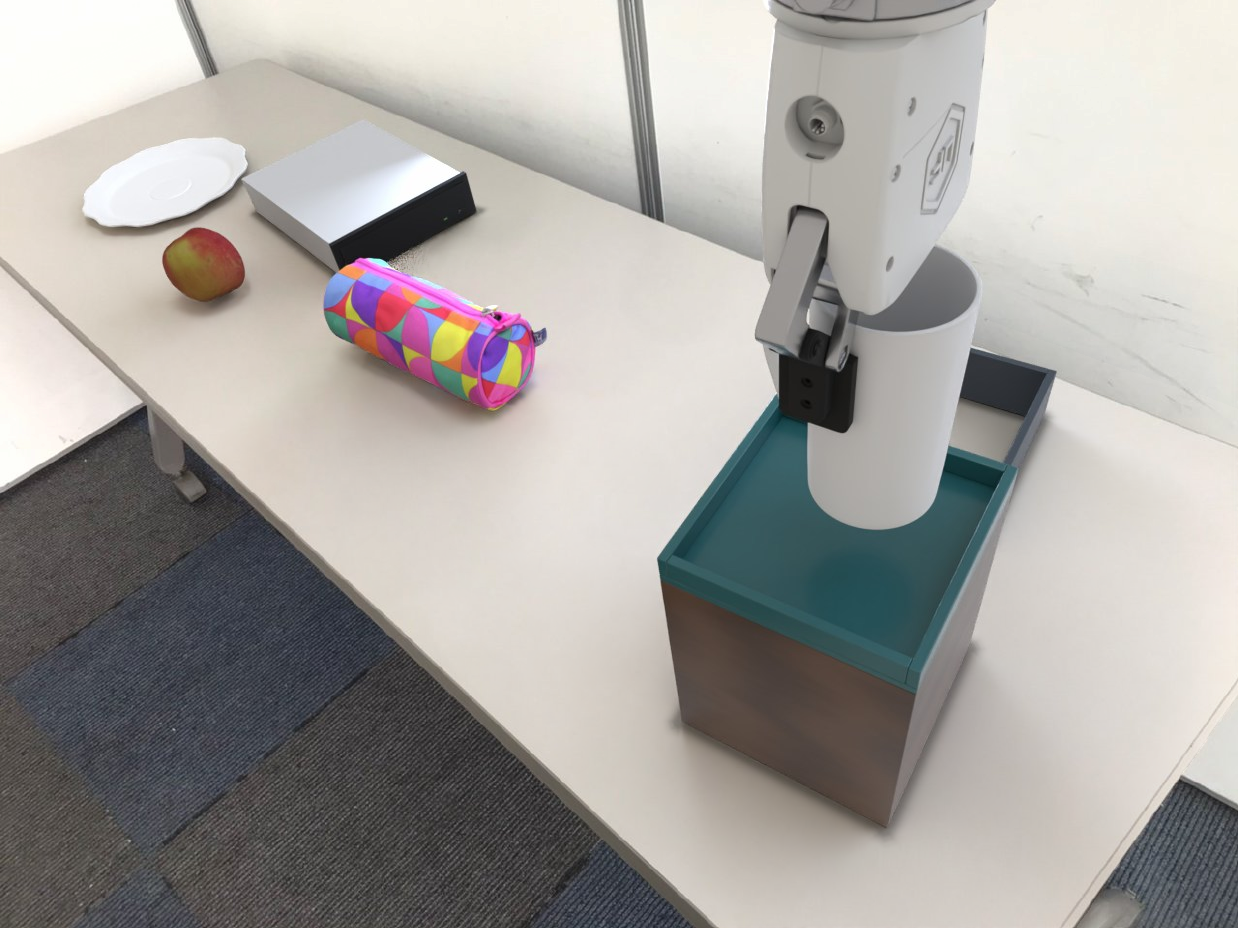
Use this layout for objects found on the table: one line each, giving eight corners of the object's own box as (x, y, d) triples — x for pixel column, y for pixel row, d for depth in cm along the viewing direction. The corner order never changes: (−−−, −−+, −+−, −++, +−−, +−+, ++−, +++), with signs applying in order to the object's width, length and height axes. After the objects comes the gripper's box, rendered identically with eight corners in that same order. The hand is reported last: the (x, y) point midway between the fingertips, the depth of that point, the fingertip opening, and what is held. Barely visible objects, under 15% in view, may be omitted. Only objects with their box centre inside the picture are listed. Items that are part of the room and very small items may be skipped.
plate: (60, 208, 122) (53, 196, 121) (196, 135, 131) (191, 123, 130) (141, 255, 111) (134, 243, 110) (283, 172, 121) (278, 160, 120)
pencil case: (561, 367, 88) (544, 289, 82) (499, 431, 83) (475, 354, 77) (396, 306, 98) (369, 232, 92) (331, 359, 93) (298, 285, 87)
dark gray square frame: (1043, 416, 77) (1057, 370, 73) (985, 539, 69) (997, 494, 66) (877, 367, 83) (881, 323, 79) (807, 474, 76) (809, 431, 72)
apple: (243, 265, 107) (212, 203, 101) (263, 299, 102) (232, 236, 96) (177, 292, 105) (142, 231, 99) (195, 328, 100) (159, 265, 94)
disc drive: (347, 285, 102) (331, 246, 98) (255, 213, 115) (238, 177, 111) (477, 212, 109) (467, 173, 105) (376, 152, 121) (364, 116, 118)
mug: (969, 474, 46) (1015, 270, 38) (894, 559, 43) (925, 357, 35) (801, 394, 52) (808, 199, 43) (723, 463, 49) (714, 269, 40)
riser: (969, 646, 64) (1012, 491, 52) (887, 828, 56) (916, 695, 44) (778, 567, 70) (778, 413, 58) (681, 721, 62) (659, 580, 51)
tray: (1012, 491, 52) (1019, 467, 50) (916, 695, 44) (920, 673, 43) (778, 413, 58) (778, 389, 57) (659, 580, 51) (656, 557, 49)
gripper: (890, 83, 23) (850, 530, 36) (1086, -143, 32) (998, 280, 45) (636, 44, 27) (682, 466, 40) (878, -151, 36) (851, 245, 49)
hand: (851, 364), depth 43 cm, fingers closed on mug, 6 cm apart
